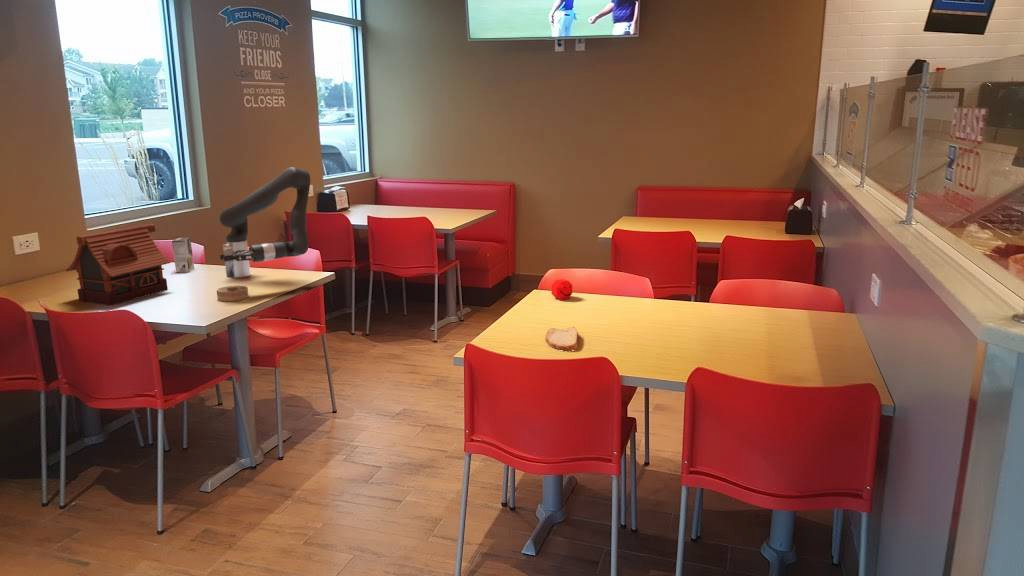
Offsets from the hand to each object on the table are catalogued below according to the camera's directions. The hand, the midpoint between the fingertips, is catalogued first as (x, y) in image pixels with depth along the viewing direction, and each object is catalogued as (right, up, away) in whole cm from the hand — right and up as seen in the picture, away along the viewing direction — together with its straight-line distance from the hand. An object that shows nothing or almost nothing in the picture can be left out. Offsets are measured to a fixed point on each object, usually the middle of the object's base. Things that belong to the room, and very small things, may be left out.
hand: (222, 258), depth 305 cm
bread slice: (+140, -31, -56) cm, 154 cm away
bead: (+2, -17, +6) cm, 18 cm away
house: (-47, -16, +13) cm, 52 cm away
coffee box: (-42, -4, +60) cm, 73 cm away
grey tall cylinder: (+2, -8, +4) cm, 9 cm away
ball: (+143, -17, -1) cm, 144 cm away
